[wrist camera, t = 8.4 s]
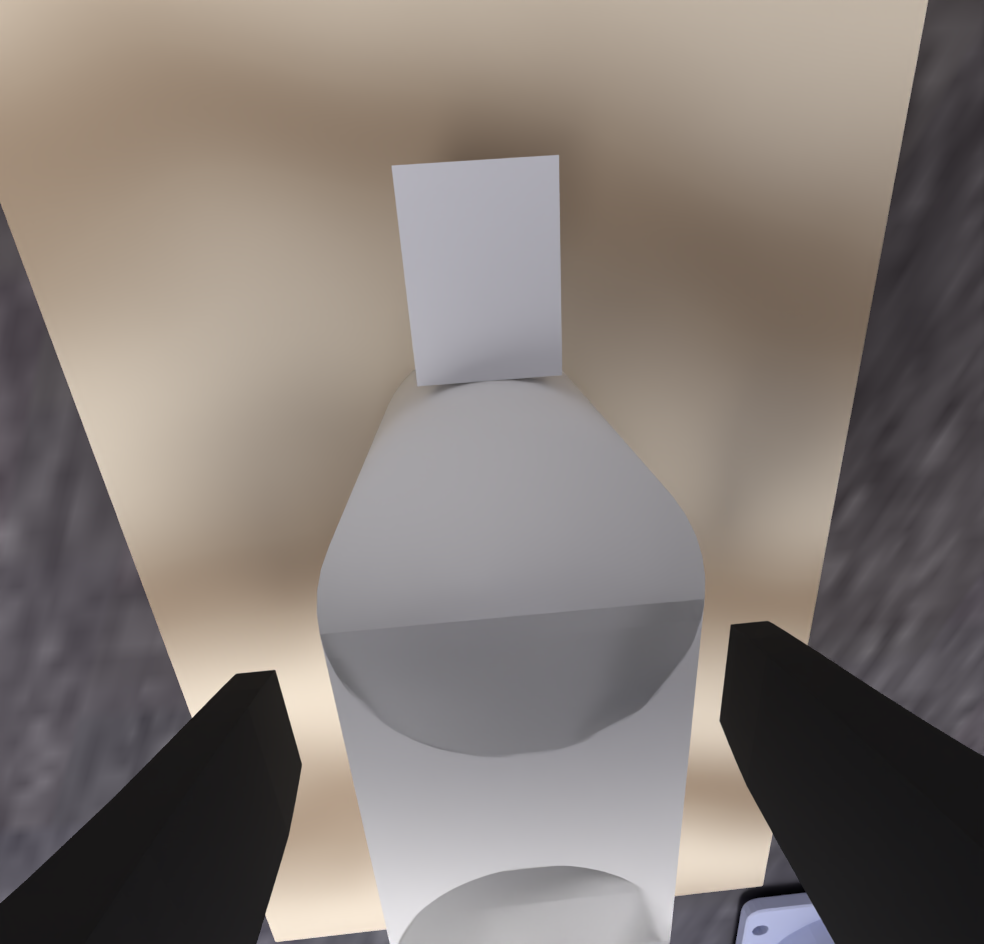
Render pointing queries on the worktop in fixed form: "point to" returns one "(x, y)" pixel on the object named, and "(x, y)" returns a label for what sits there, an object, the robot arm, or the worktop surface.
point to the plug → (509, 604)
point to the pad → (385, 317)
